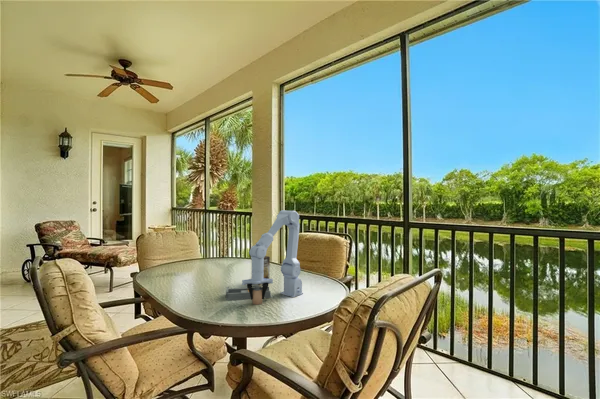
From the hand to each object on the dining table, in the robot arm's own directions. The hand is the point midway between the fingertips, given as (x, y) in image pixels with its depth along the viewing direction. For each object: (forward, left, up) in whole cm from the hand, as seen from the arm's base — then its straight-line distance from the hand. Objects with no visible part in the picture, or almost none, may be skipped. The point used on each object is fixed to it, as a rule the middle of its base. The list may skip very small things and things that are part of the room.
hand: (257, 298), depth 143 cm
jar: (0, 0, -2) cm, 2 cm away
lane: (+11, -3, -2) cm, 12 cm away
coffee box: (+22, -21, -2) cm, 30 cm away
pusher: (+12, -2, -1) cm, 12 cm away
